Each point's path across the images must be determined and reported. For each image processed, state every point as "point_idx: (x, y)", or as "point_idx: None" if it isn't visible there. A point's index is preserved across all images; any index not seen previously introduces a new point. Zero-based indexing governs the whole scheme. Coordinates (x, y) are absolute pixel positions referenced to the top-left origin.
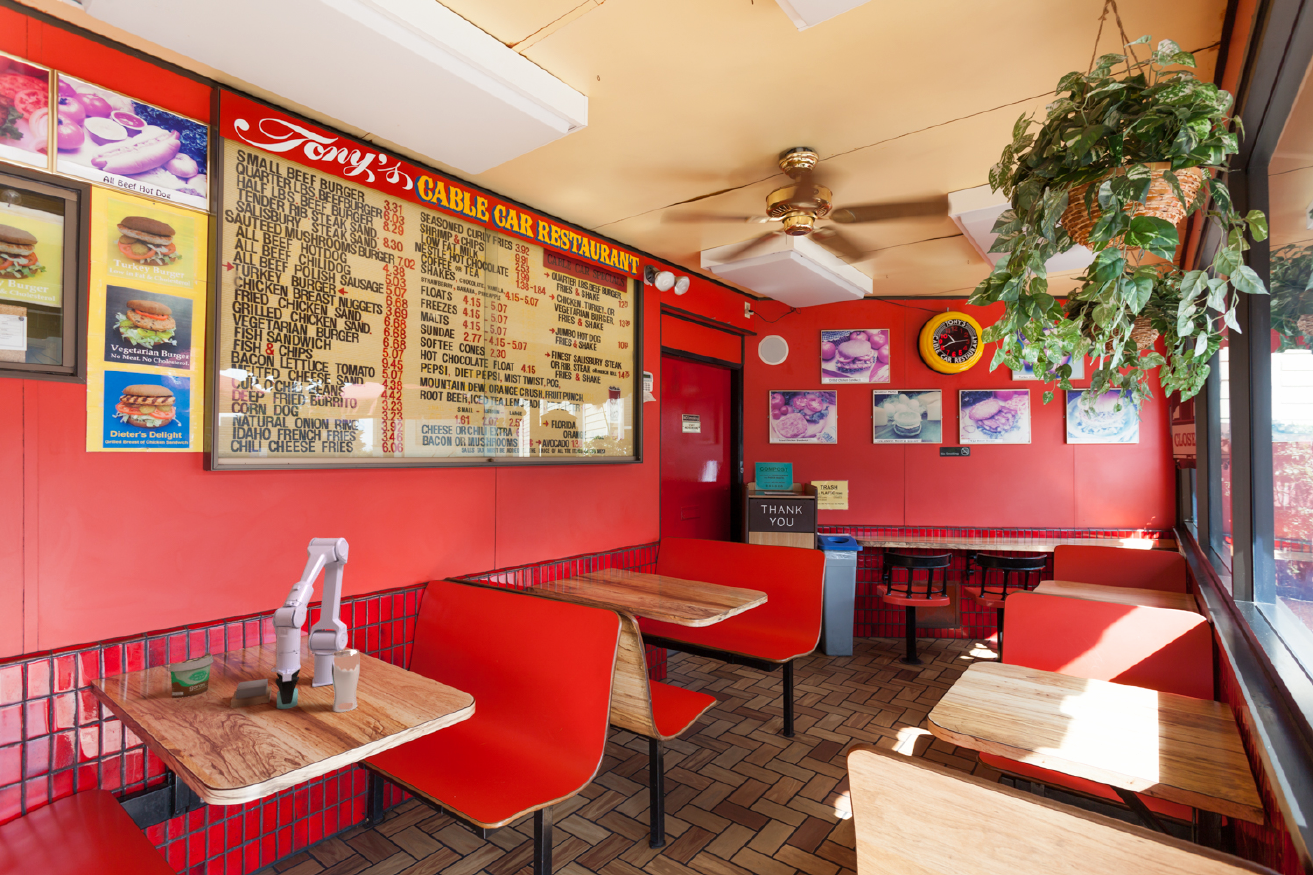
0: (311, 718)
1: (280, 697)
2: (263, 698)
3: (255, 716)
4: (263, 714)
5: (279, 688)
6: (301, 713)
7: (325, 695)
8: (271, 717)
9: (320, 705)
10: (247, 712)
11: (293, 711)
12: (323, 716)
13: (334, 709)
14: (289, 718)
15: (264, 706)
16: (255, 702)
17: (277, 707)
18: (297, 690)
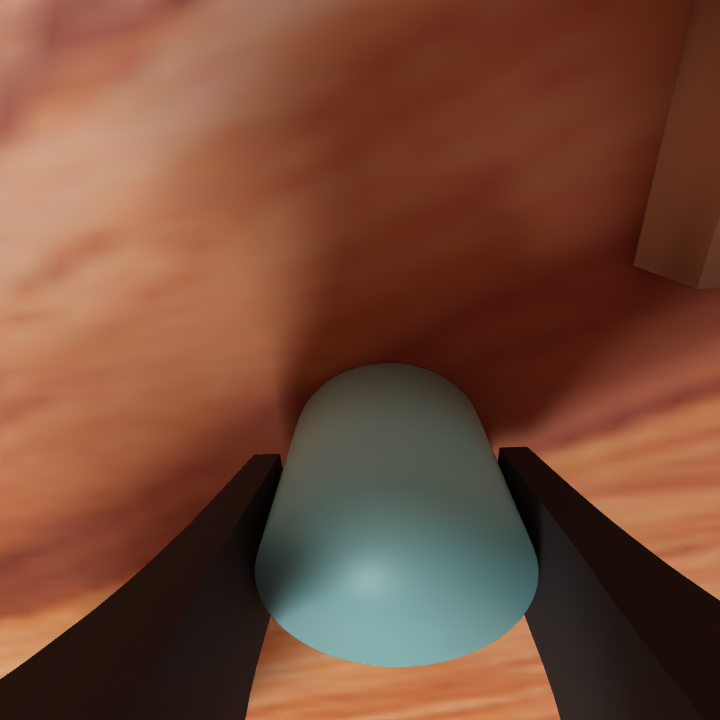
0: (3, 595)
1: (284, 483)
2: (698, 198)
3: (134, 167)
4: (184, 255)
5: (27, 666)
6: (125, 545)
7: (498, 653)
8: (67, 346)
9: (272, 631)
10: (341, 12)
11: (193, 498)
12: (35, 643)
13: None
14: (19, 482)
15: (492, 227)
16: (700, 74)
17: (340, 377)
18: (367, 657)
